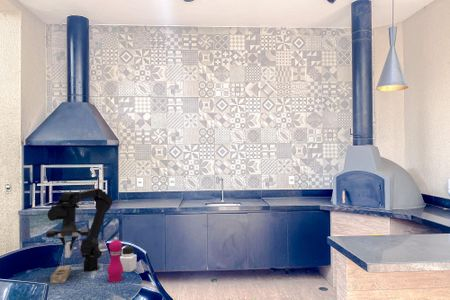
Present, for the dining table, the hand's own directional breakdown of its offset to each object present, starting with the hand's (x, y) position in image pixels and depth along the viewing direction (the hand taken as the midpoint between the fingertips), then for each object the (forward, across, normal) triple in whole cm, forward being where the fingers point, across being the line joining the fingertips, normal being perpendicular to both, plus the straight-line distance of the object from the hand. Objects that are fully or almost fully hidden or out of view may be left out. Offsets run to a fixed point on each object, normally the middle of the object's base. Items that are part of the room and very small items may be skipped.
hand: (68, 250), depth 165 cm
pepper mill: (+13, +22, -8) cm, 27 cm away
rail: (+13, -3, +3) cm, 14 cm away
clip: (+2, 0, 0) cm, 3 cm away
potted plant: (+13, +28, +7) cm, 31 cm away
